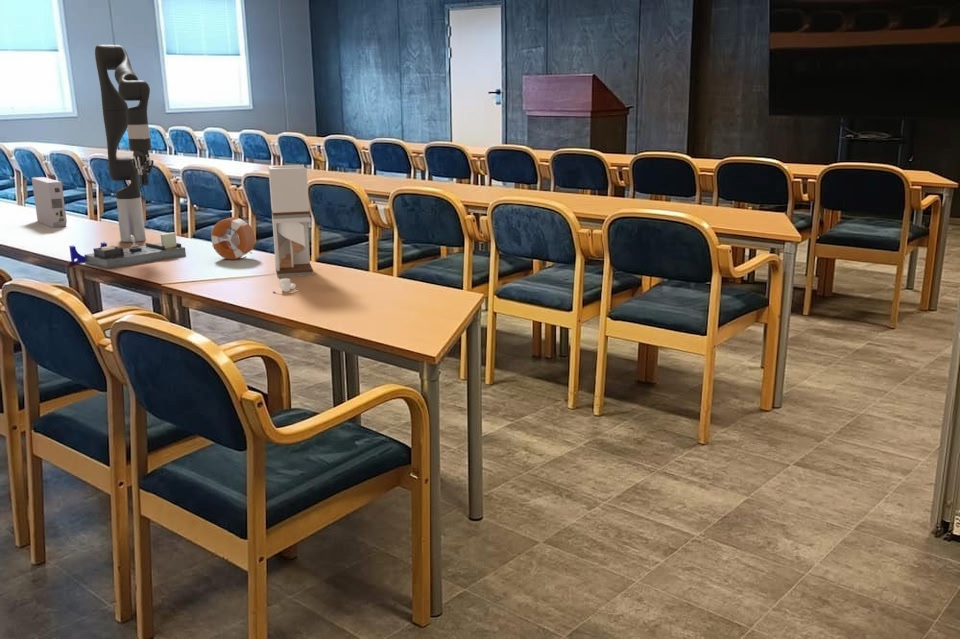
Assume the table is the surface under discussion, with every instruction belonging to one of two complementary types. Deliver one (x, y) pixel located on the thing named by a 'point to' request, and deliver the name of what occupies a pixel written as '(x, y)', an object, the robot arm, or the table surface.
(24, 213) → the table surface
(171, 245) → the pale green eraser block
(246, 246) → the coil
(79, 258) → the cable clip
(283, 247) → the spiral ramp tower
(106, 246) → the button
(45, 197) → the game console
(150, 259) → the panel
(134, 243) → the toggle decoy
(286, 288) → the teacup and saucer
